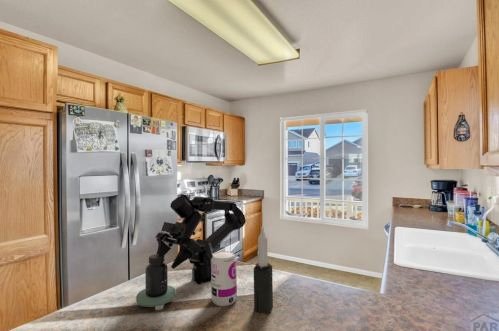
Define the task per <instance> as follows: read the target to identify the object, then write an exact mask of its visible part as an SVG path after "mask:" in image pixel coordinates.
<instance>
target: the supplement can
mask: <svg viewBox="0 0 499 331" xmlns="http://www.w3.org/2000/svg"><path fill="white" fill-rule="evenodd" d="M212 255H213V257H212V259H211V281H210V282H211V284H210V285H211V286H210V287H211V296H210V297H211V302H212V303H213V304H214V305H215V306H219V307H228V306H231V305H233V304H234V303H235V302H236V301H237V299H238V292H237V291H238V289H237V288H238V286H237V284H238V283H237V281H238V280H237V276H238V275H237V274H238V273H237V257H236V255H235V253H234V252H232V251H226V250H225V251H222V250H221V251H217V252H214V253H212Z"/></svg>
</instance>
